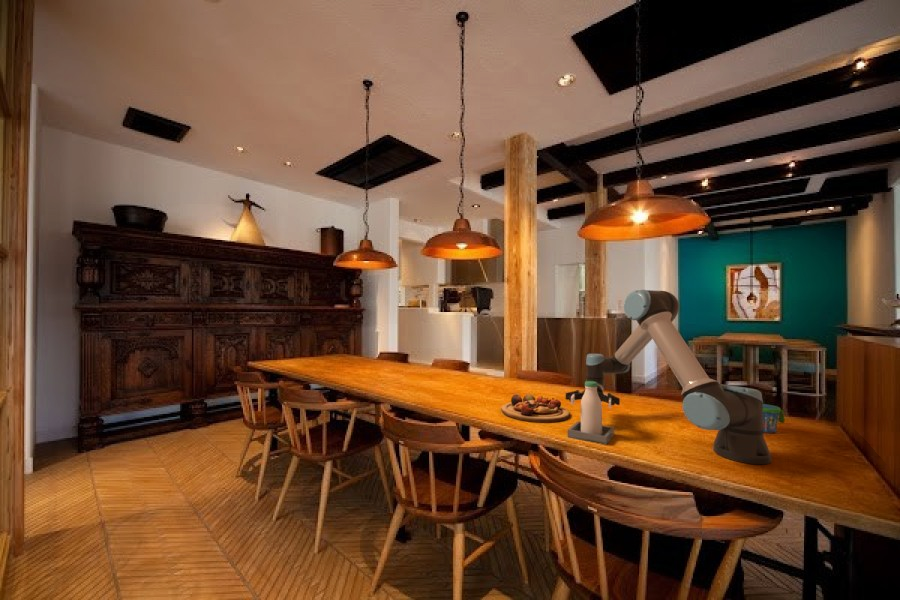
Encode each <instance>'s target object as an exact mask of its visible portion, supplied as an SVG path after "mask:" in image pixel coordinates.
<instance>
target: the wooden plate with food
mask: <svg viewBox="0 0 900 600" xmlns="http://www.w3.org/2000/svg"><path fill="white" fill-rule="evenodd" d="M500 411H501V413H502V414H503V415H505V416H507V417H509V418H512V419H516V420H521V421H526V422H533V423H556V422H558V421H559V422H564V421H566V420H567V418H568V419H569V418H570V415H571V414H570V411H569V410H567V408H565V407H562V402H561V401H560V400H559V399H555V398H553V397H551V399H549V397H543V395H540V396H538V397H537V398H535V396H534V395H532V394H531V393H527V394H526V395H524V396H523V398H522V397H521V395H519V394H518V393H515V394H513V395H512V397H511V398H510V402H508V403H507V402H506V403H505V404H503V405H502V406H501V407H500Z"/></svg>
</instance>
